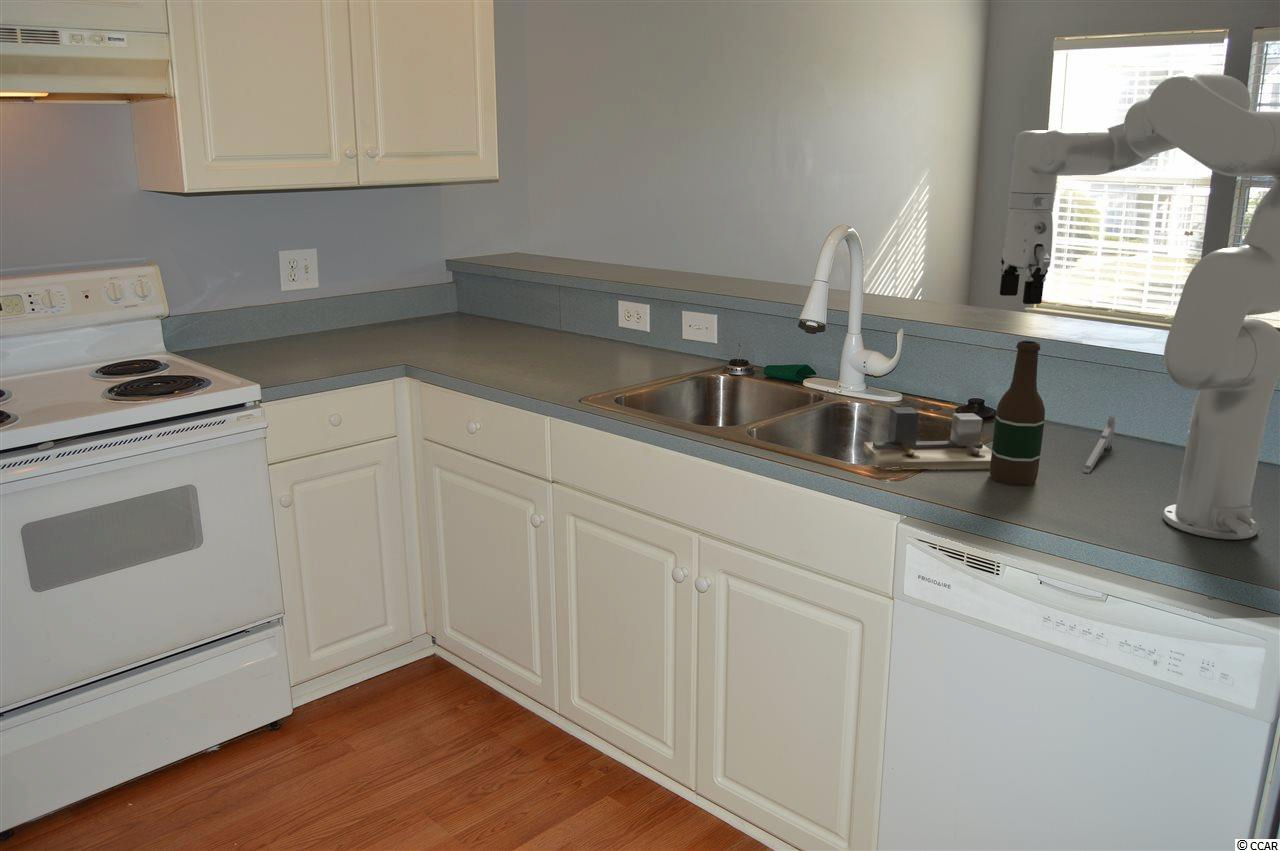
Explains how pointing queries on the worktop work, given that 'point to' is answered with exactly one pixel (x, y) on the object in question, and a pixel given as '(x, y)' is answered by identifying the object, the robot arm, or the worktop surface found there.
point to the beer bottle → (1019, 423)
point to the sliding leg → (903, 427)
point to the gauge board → (938, 449)
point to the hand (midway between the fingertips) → (1019, 299)
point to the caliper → (1101, 445)
